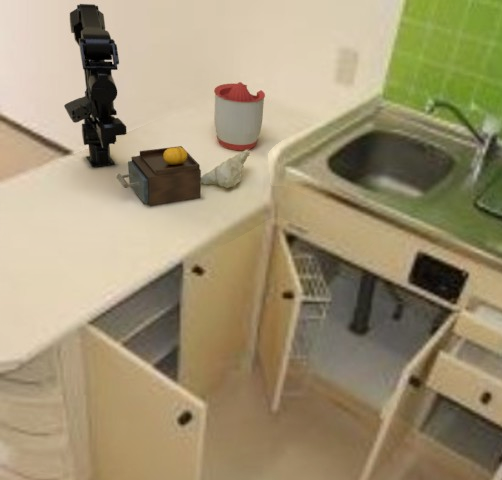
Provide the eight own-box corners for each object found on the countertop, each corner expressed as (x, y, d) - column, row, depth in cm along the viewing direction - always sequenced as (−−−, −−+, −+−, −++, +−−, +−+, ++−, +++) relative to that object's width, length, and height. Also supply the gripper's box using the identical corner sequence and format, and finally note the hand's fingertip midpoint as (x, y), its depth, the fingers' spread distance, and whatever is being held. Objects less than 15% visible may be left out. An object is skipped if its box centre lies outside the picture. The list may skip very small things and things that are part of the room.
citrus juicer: (273, 143, 212) (279, 82, 200) (241, 158, 200) (244, 95, 188) (236, 128, 218) (239, 69, 206) (202, 142, 205) (203, 80, 193)
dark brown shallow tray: (156, 176, 165) (156, 170, 164) (139, 156, 173) (139, 150, 172) (199, 170, 171) (199, 164, 170) (181, 151, 179) (181, 145, 178)
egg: (163, 168, 170) (168, 163, 166) (159, 152, 170) (163, 146, 166) (186, 165, 173) (191, 160, 170) (182, 149, 173) (187, 143, 169)
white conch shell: (210, 203, 179) (254, 173, 176) (194, 180, 177) (239, 150, 174) (220, 194, 193) (261, 167, 190) (206, 173, 191) (247, 145, 188)
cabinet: (149, 206, 169) (148, 177, 164) (132, 185, 177) (131, 156, 172) (200, 198, 176) (200, 170, 171) (182, 177, 184) (182, 150, 179)
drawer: (128, 206, 166) (126, 182, 162) (113, 186, 174) (111, 163, 170) (192, 195, 175) (192, 173, 171) (175, 177, 182) (175, 155, 178)
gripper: (55, 76, 157) (62, 136, 167) (77, 105, 145) (83, 168, 155) (101, 73, 163) (105, 132, 172) (125, 101, 151) (128, 162, 160)
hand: (104, 148), depth 165 cm, fingers closed
